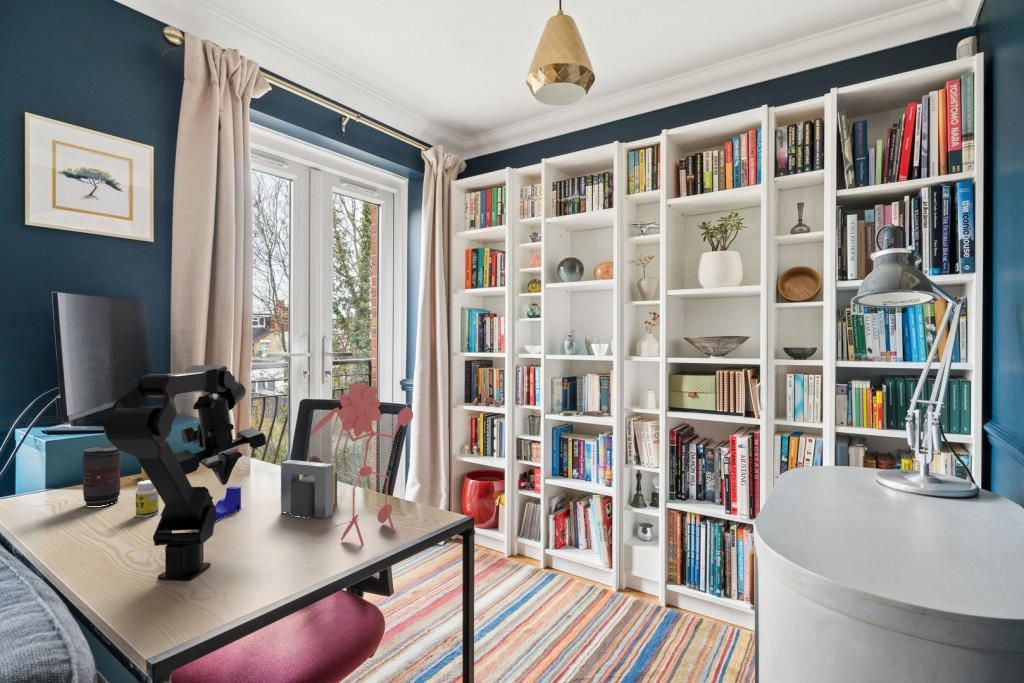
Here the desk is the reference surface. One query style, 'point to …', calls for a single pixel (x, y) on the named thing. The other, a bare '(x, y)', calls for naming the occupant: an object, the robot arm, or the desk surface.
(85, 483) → the camera lens
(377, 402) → the figurine
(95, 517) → the desk surface
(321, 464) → the frame
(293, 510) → the plug
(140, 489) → the supplement bottle
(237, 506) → the cable clip
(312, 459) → the vase
